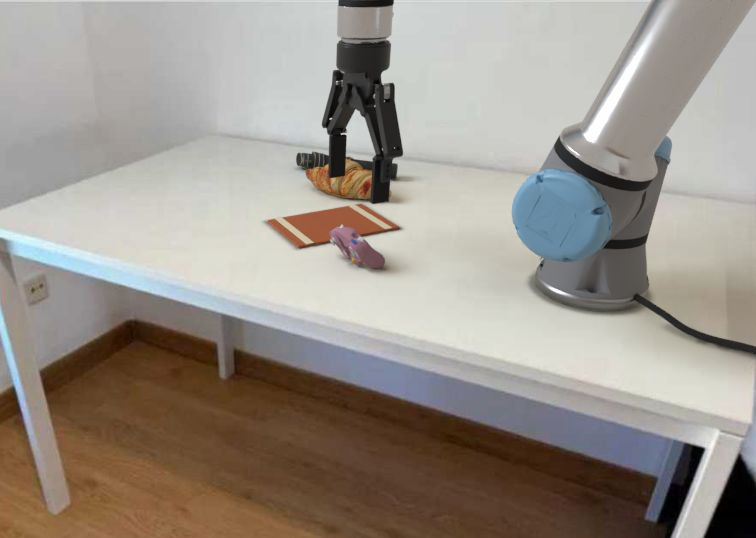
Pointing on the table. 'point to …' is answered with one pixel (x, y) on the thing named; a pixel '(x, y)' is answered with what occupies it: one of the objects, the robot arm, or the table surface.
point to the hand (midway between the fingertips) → (357, 188)
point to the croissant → (343, 181)
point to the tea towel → (330, 224)
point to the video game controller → (356, 247)
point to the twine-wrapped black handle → (323, 160)
